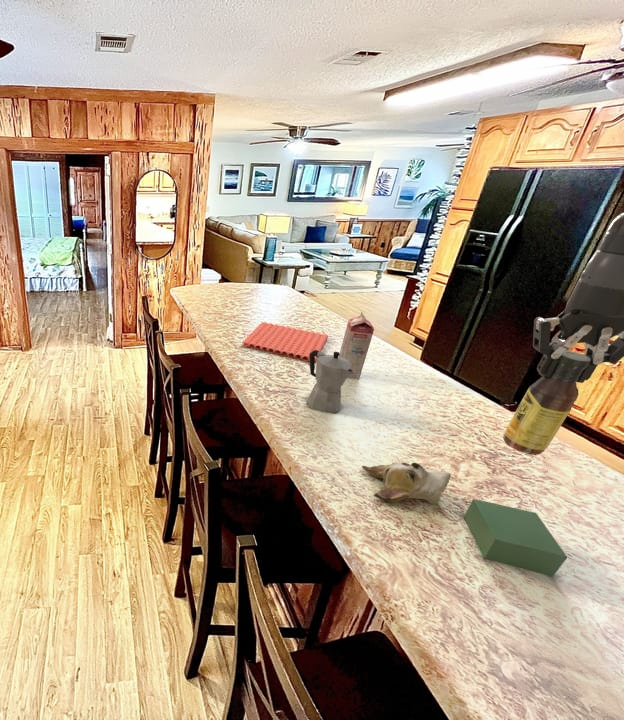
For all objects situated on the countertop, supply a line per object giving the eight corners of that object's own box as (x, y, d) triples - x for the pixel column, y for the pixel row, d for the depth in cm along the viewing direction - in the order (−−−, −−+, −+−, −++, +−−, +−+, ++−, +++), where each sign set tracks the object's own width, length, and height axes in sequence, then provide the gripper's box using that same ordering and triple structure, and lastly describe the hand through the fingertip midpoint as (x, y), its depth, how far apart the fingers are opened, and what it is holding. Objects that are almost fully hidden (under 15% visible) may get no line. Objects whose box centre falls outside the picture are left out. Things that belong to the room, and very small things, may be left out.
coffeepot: (352, 414, 113) (369, 358, 105) (328, 421, 109) (344, 364, 101) (312, 389, 125) (325, 338, 117) (290, 394, 122) (301, 342, 114)
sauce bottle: (504, 432, 79) (552, 343, 70) (545, 448, 74) (602, 355, 66) (496, 445, 75) (546, 352, 66) (539, 462, 71) (599, 366, 62)
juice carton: (338, 376, 133) (354, 316, 124) (335, 368, 139) (351, 310, 130) (359, 379, 132) (377, 319, 122) (355, 371, 137) (372, 312, 128)
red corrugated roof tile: (315, 363, 142) (316, 358, 141) (241, 346, 155) (242, 341, 154) (327, 339, 164) (328, 334, 163) (261, 325, 177) (262, 321, 176)
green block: (522, 534, 76) (536, 512, 73) (550, 580, 67) (567, 557, 64) (461, 520, 78) (473, 498, 76) (481, 562, 70) (495, 539, 67)
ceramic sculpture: (466, 485, 75) (380, 476, 78) (453, 518, 78) (371, 507, 82) (441, 451, 84) (366, 444, 88) (430, 482, 88) (358, 474, 91)
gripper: (569, 283, 59) (520, 380, 67) (696, 294, 55) (628, 396, 63) (544, 272, 66) (501, 362, 73) (656, 281, 61) (598, 376, 69)
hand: (560, 377), depth 68 cm, fingers closed on sauce bottle, 4 cm apart
